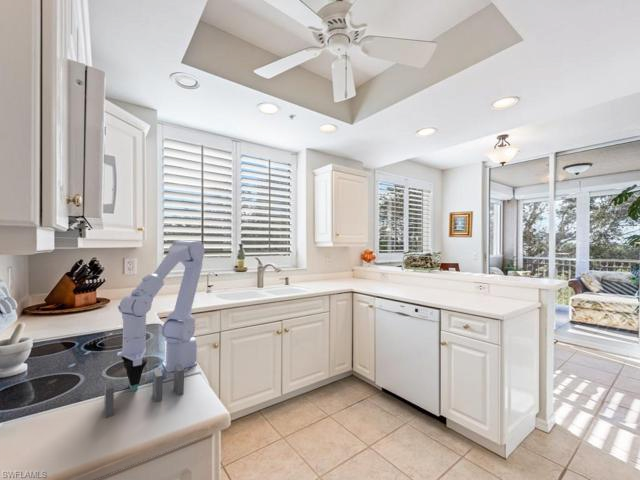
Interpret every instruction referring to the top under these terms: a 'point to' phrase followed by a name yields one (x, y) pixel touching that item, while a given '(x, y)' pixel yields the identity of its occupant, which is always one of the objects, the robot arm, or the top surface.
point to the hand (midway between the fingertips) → (133, 380)
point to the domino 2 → (133, 387)
